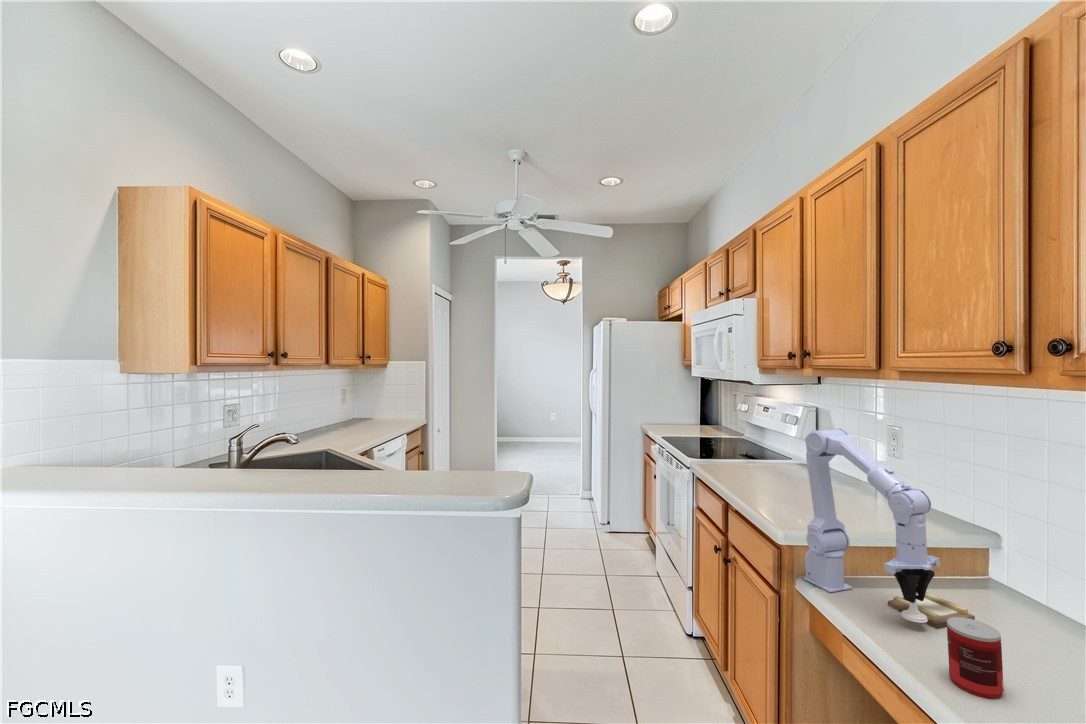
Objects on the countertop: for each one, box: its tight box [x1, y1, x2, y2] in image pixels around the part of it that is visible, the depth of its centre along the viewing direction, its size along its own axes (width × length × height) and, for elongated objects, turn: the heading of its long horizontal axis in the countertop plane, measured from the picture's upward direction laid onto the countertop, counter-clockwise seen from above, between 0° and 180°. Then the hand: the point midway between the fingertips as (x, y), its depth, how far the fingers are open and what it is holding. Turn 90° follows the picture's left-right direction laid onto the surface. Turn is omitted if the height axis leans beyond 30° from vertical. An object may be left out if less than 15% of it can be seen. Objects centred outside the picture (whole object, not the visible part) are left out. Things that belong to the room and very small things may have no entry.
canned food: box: [946, 617, 1005, 699], centre depth 91 cm, size 8×8×11 cm
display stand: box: [887, 591, 976, 630], centre depth 119 cm, size 12×12×2 cm
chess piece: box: [900, 592, 928, 624], centre depth 113 cm, size 5×5×10 cm
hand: (913, 600), depth 112 cm, fingers closed on chess piece, 2 cm apart
